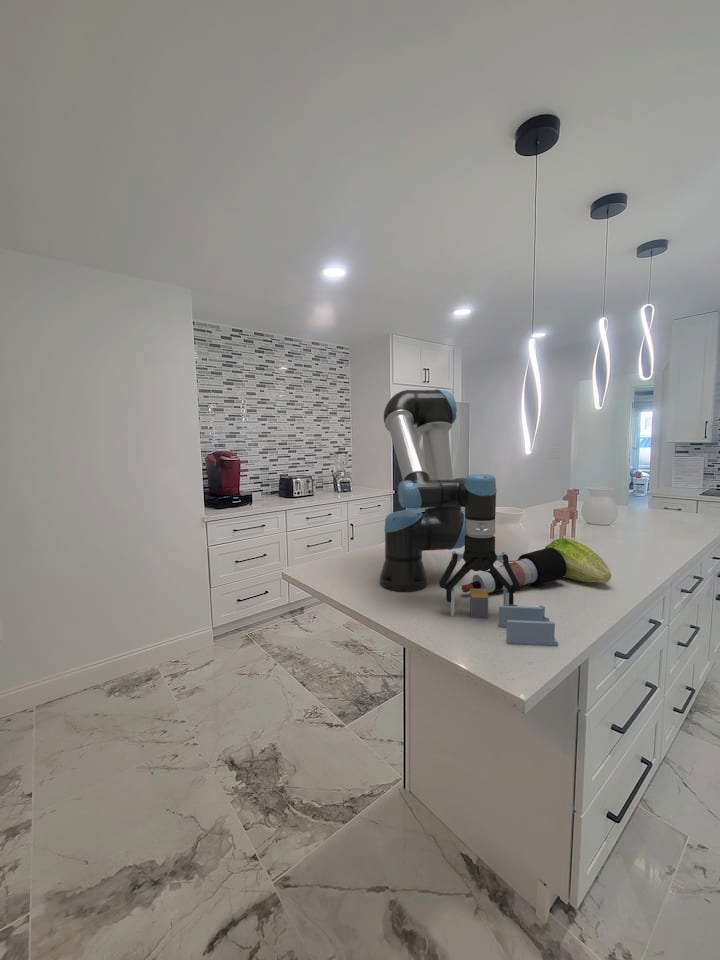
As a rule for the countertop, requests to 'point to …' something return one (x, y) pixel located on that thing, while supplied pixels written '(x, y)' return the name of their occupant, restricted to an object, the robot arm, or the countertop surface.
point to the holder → (526, 625)
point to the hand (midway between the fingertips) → (478, 614)
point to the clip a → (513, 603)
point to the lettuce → (581, 561)
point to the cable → (524, 571)
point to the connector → (479, 603)
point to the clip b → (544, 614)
